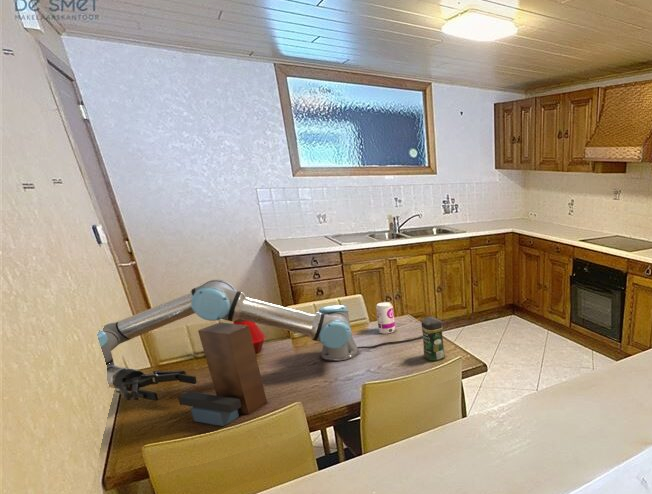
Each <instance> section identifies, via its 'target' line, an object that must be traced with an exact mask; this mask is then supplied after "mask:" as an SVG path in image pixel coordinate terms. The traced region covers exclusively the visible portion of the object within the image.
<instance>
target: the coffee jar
mask: <svg viewBox="0 0 652 494" xmlns="http://www.w3.org/2000/svg"><path fill="white" fill-rule="evenodd" d="M421 332H422V336H423V338H422V342H423V355H424V357H425V358H426V359H427V360H428V361H431V362H432V361H441V360H442V359H444V358H445V348H444V336H443V321H442V320H440V319H439V318H436V317H433V316H427V317H423V318H422V320H421Z"/></svg>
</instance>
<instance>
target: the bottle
mask: <svg viewBox="0 0 652 494" xmlns="http://www.w3.org/2000/svg"><path fill="white" fill-rule="evenodd" d="M232 324H239V325H248V326H249V329H250V333H251V337H252V341H253V346H254V350H255V354H258V353H260V352H261V350H262V348H263V344H264V341H265V338H266V335H265V334H264V333H263V331H262V330H261V329H260V328H259V326H258V324H257V323H254V322H250V321H246V320H241V319H238V320H236V321H234V322H232Z"/></svg>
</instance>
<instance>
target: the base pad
mask: <svg viewBox="0 0 652 494" xmlns="http://www.w3.org/2000/svg"><path fill="white" fill-rule="evenodd" d="M190 411H191V415H192V417H193V421H194V422H198V423H202V424H203V423H204V424H207V425H208V424H209V425H215V426H221V427H224V426H226V425H228V424H230V423H231V422H233V421H235V420H236V419H237V418H239V417H240V415H239V414H240V413H238V410H235V411H234V412H232V413H229V412H223V411H217V410H211V409H204V408H198V407H192V406H191V407H190Z"/></svg>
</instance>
